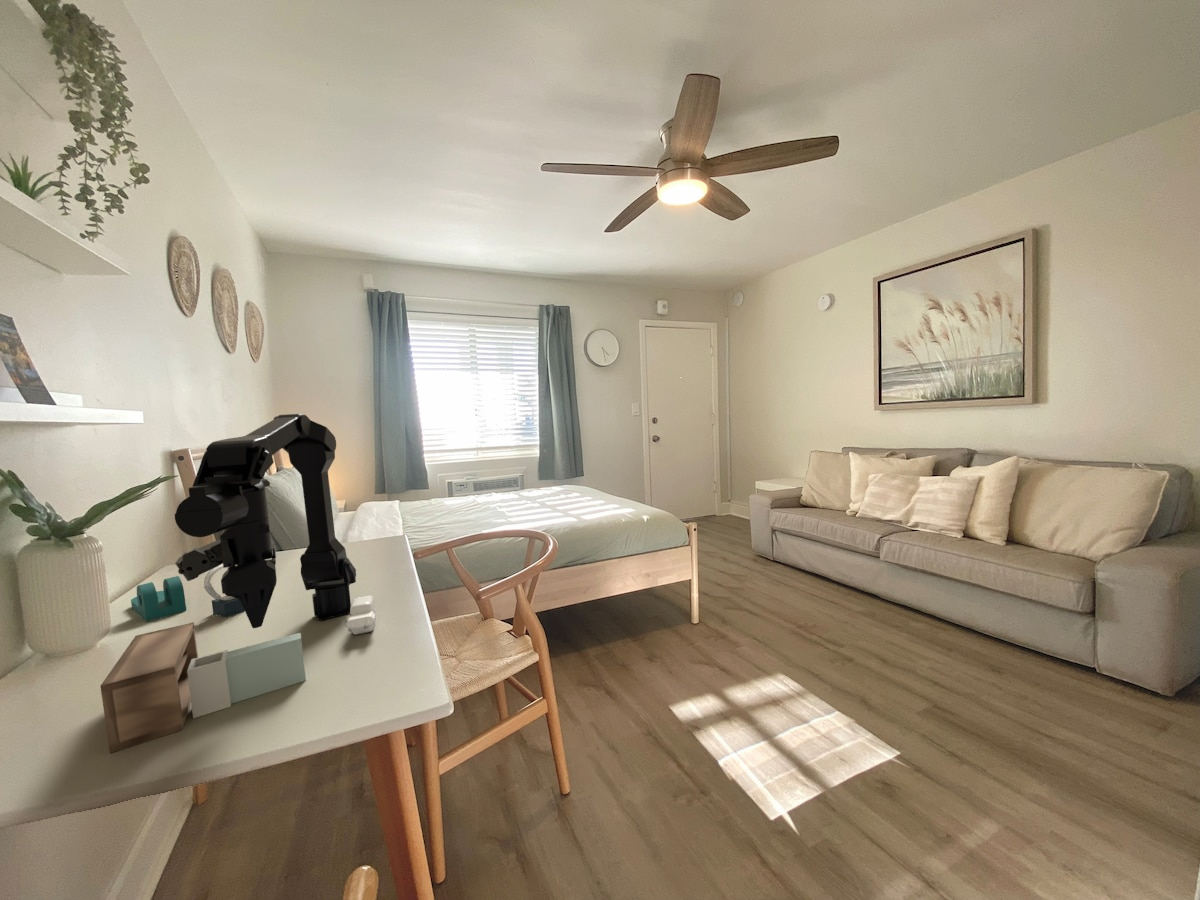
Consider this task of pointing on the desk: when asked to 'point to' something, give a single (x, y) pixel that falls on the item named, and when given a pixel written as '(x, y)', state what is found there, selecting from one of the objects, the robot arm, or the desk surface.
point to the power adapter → (361, 615)
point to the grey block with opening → (244, 673)
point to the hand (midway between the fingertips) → (258, 617)
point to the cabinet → (149, 687)
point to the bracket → (159, 600)
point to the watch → (222, 598)
